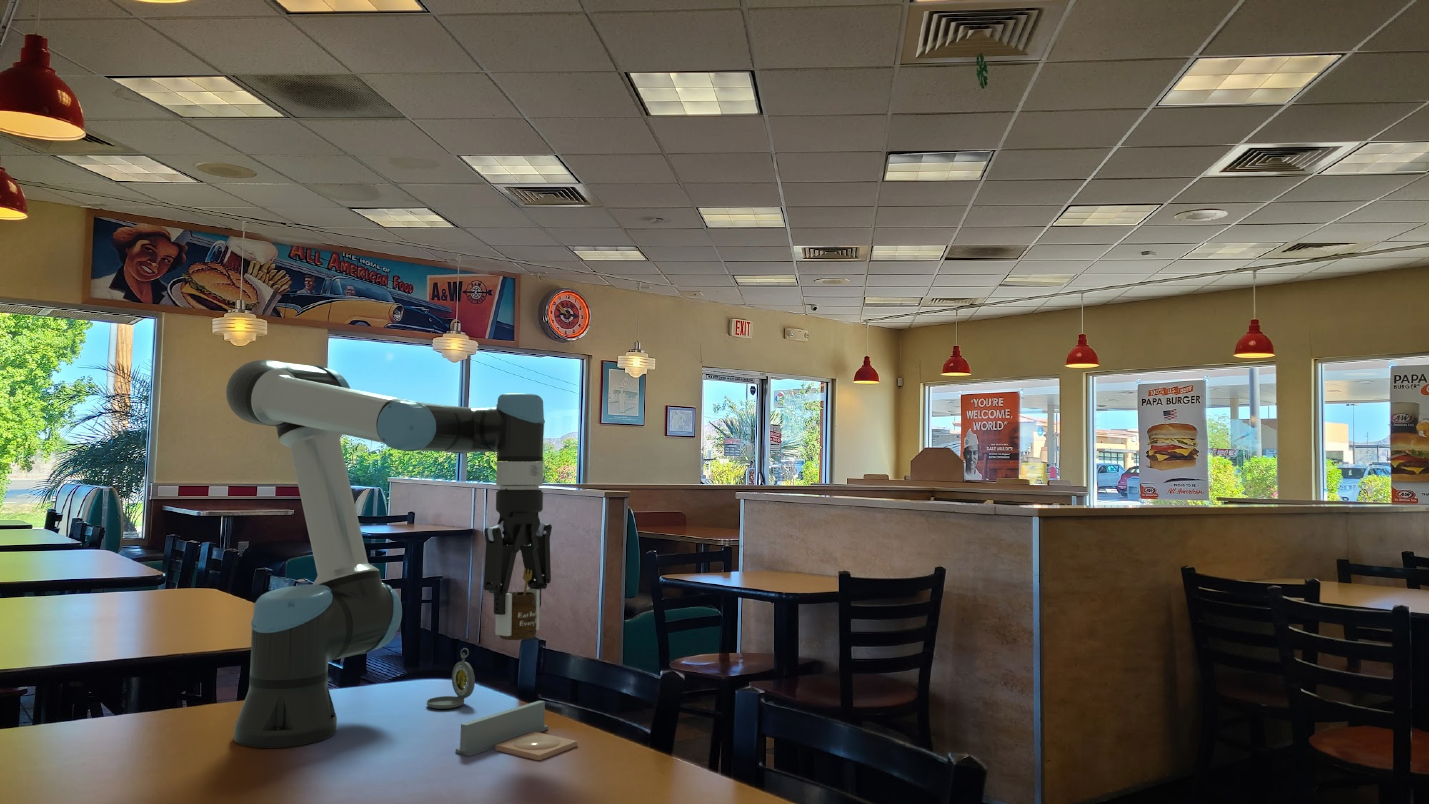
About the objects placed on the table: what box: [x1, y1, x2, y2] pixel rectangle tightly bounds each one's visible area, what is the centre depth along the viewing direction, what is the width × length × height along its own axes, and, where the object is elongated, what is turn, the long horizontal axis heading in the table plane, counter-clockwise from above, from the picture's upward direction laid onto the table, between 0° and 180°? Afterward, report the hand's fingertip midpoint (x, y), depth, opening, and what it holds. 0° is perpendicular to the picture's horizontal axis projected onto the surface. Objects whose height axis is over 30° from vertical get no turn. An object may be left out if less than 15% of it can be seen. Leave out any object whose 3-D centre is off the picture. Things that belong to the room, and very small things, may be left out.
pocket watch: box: [426, 647, 476, 710], centre depth 174 cm, size 8×8×10 cm
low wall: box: [455, 700, 549, 757], centre depth 153 cm, size 3×18×4 cm, turn 149°
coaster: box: [495, 732, 578, 761], centre depth 149 cm, size 9×9×1 cm
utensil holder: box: [499, 568, 537, 641], centre depth 153 cm, size 6×6×12 cm
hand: (517, 631), depth 152 cm, fingers closed on utensil holder, 6 cm apart
